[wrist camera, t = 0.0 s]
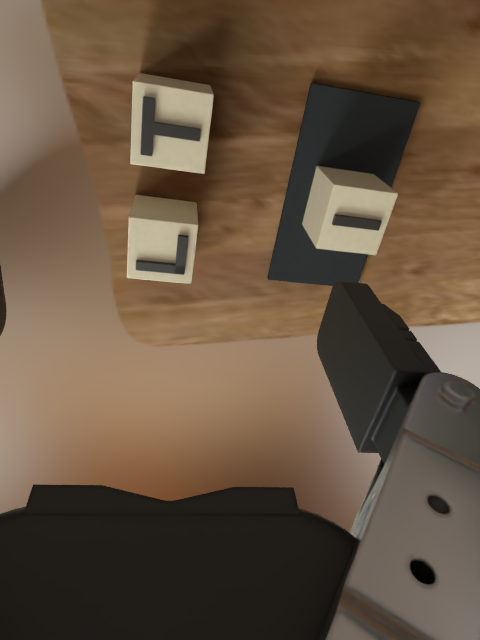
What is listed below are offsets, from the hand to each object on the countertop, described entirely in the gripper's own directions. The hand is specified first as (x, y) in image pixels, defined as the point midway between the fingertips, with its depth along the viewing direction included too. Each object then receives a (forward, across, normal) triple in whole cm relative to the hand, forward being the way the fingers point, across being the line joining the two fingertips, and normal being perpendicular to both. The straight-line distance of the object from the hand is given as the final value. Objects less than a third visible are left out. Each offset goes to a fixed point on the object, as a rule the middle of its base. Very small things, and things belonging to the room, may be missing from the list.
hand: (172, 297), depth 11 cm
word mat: (+24, -12, +4) cm, 27 cm away
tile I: (+23, -12, +4) cm, 27 cm away
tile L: (+24, 0, +8) cm, 25 cm away
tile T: (+24, 0, 0) cm, 24 cm away
